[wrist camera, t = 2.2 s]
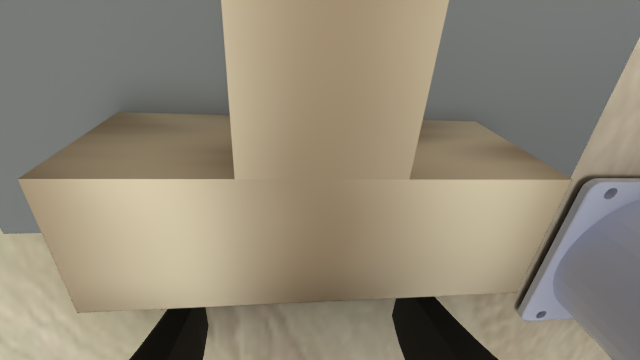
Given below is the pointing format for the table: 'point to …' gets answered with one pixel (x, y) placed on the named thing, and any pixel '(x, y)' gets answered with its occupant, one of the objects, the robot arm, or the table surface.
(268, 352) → the table surface
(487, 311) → the table surface
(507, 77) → the mat
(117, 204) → the t block
